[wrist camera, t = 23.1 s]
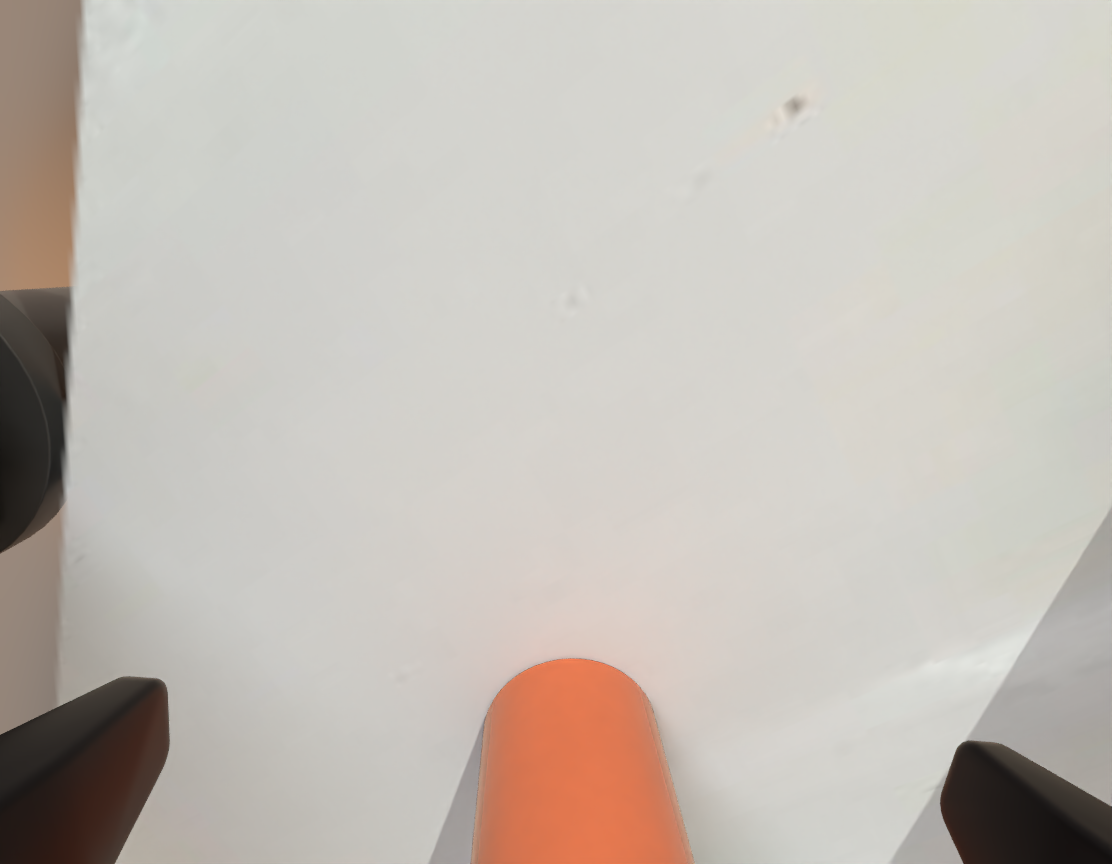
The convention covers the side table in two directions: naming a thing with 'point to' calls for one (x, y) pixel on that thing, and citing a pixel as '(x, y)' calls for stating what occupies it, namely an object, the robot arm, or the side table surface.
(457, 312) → the side table surface
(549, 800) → the jar
